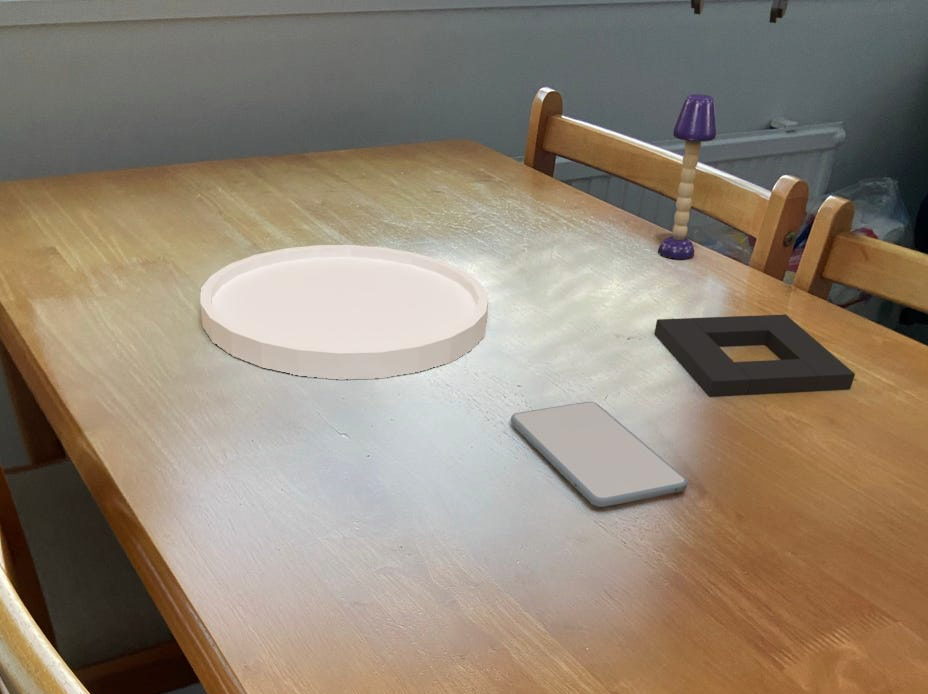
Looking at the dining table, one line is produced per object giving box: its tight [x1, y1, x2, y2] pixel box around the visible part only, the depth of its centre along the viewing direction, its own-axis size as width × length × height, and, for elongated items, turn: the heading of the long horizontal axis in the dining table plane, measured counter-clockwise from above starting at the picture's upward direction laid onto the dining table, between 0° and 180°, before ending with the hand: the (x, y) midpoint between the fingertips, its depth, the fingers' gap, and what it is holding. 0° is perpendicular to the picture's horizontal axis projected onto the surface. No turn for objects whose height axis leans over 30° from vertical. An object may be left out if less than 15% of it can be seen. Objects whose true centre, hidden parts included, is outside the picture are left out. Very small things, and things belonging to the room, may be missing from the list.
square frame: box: [654, 314, 856, 398], centre depth 93 cm, size 13×13×3 cm
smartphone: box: [510, 401, 688, 508], centre depth 80 cm, size 8×1×15 cm
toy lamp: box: [657, 93, 717, 260], centre depth 114 cm, size 5×5×17 cm
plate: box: [199, 244, 489, 381], centre depth 99 cm, size 28×28×2 cm
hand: (734, 13), depth 113 cm, fingers open, 8 cm apart
